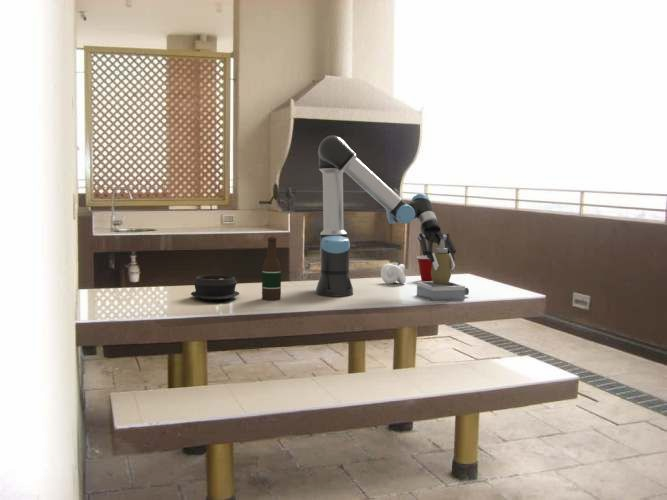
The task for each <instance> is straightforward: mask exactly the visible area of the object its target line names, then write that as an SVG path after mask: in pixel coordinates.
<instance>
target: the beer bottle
mask: <svg viewBox="0 0 667 500" xmlns="http://www.w3.org/2000/svg"><path fill="white" fill-rule="evenodd" d="M277 241H278V239H277V237H275V236H269V237H267V251H266V252H267V255H266V258H265V259H264V261H263V264H262V269H261V270H262V271H261V273H262V275H261V279H262V280H261V282H262V283H261V299H262V300H263V301H279V300H281V296H282V295H281V294H282V291H281V290H282V267H281V266H282V265H281V263H280V261H279V259H278V255H277Z"/></svg>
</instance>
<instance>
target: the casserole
mask: <svg viewBox="0 0 667 500" xmlns="http://www.w3.org/2000/svg"><path fill="white" fill-rule="evenodd" d="M192 284H193V285H194V289H195V291H192V292H191V293H190V295H191V296H192V297H195V298H198V299H201V300H204V301H210V302H211V301H218V302H219V301H226V300H231V299H233V298H235V297H237V296H239V295H240V292H239V291H237V290H236V286H237V284H238V281H237V280H236V277H235V276H232V275H228V274H204V275H203V274H202V275H197V276H195V278H194V280H193V282H192Z"/></svg>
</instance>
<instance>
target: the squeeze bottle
mask: <svg viewBox="0 0 667 500" xmlns="http://www.w3.org/2000/svg"><path fill="white" fill-rule="evenodd" d="M444 242H445V240H444V238H443V239H441V240H440V244H439V245H438V247H436V248H435V252H434V254H435V256H436V259H437V262H438V265H439V267H438V269H437V270H435V269H434V266H433V263H432V270H431V276H432V280H433V283H434V284H440V285H444V284H448V282H450V279H451V277H452V270H451V267H450V255H449V254H447V252H448V249H447V248H445V244H444Z"/></svg>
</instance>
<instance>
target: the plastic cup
mask: <svg viewBox="0 0 667 500" xmlns="http://www.w3.org/2000/svg"><path fill="white" fill-rule="evenodd" d="M415 258H416V259H417V262H418V267H419V268H418V269H419V273H420V279H421V282H429V281H433V280H432V276H431V270H432V262H430V259H429V258H427V255H426V256H424V255H418V256H415Z"/></svg>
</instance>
